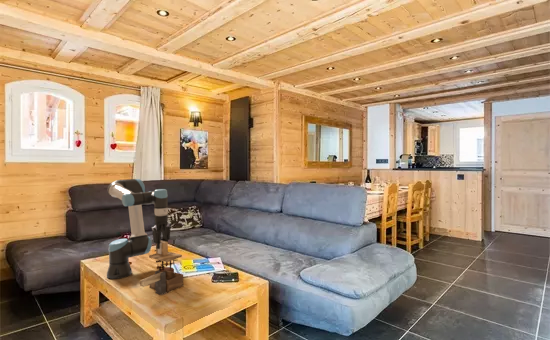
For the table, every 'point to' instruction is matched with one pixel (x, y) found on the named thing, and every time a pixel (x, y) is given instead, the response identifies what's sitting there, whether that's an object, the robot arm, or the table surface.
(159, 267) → the music box
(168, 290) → the toolbox
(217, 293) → the table surface
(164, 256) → the lid
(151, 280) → the wooden stick
